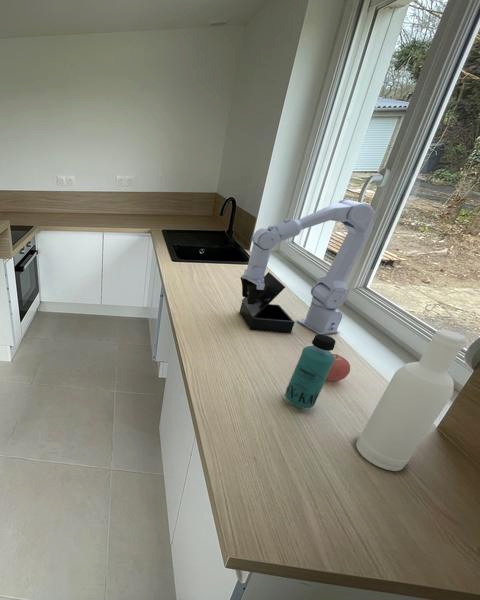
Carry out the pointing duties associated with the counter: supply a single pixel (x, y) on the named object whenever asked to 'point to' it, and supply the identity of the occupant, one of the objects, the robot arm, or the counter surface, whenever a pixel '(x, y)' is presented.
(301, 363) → the beverage bottle
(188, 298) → the counter surface
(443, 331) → the bottle
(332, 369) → the apple
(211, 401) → the counter surface
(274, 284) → the lid
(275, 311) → the black square box
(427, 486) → the counter surface
